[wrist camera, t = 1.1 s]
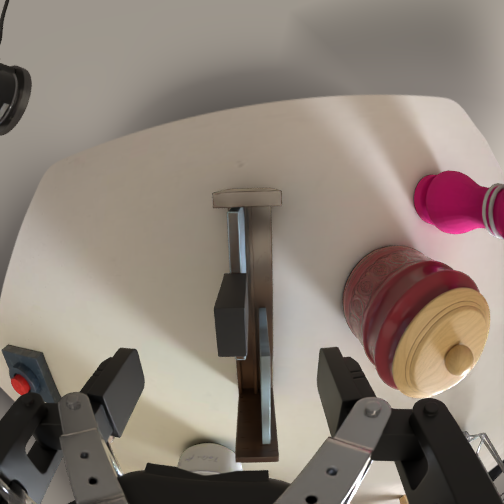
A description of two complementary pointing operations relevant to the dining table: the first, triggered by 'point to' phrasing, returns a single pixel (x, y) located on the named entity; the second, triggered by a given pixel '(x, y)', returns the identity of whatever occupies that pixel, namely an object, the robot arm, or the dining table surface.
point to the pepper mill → (460, 204)
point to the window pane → (233, 293)
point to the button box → (32, 371)
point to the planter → (403, 500)
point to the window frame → (256, 327)
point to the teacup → (208, 459)
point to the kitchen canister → (416, 319)
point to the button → (20, 384)
